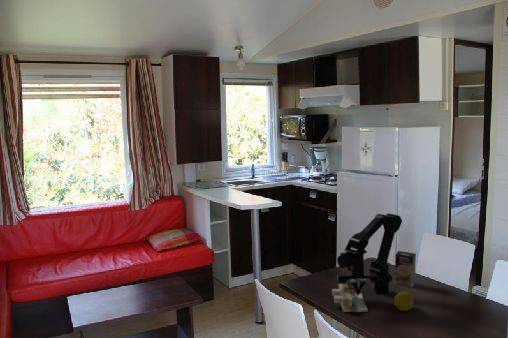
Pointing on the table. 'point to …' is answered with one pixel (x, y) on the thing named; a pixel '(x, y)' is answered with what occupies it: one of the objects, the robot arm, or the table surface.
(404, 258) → the coffee box
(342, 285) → the mount
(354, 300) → the teal knob
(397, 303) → the lemon
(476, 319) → the table surface
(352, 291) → the terracotta knob
